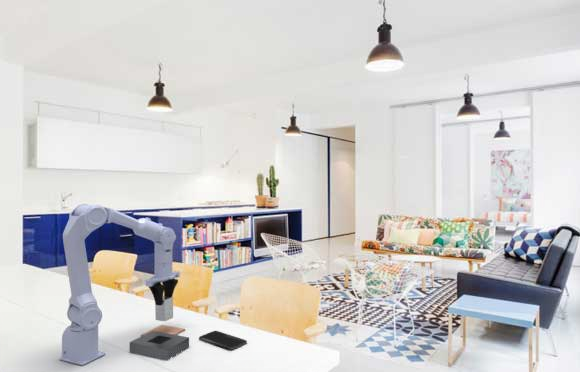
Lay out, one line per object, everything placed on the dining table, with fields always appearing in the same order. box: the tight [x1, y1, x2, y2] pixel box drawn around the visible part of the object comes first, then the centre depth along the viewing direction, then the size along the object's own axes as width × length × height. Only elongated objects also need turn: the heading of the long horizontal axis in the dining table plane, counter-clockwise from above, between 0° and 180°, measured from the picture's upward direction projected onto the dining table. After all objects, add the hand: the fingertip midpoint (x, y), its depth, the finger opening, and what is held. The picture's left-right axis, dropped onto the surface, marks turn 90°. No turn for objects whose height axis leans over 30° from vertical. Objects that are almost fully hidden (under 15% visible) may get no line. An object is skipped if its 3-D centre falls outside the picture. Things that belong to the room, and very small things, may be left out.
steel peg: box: [154, 295, 174, 322], centre depth 133 cm, size 4×4×7 cm
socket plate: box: [129, 331, 190, 361], centre depth 120 cm, size 14×10×3 cm
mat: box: [140, 324, 186, 337], centre depth 134 cm, size 10×10×1 cm
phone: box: [198, 330, 248, 352], centre depth 127 cm, size 8×1×15 cm
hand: (163, 303), depth 134 cm, fingers closed on steel peg, 4 cm apart
